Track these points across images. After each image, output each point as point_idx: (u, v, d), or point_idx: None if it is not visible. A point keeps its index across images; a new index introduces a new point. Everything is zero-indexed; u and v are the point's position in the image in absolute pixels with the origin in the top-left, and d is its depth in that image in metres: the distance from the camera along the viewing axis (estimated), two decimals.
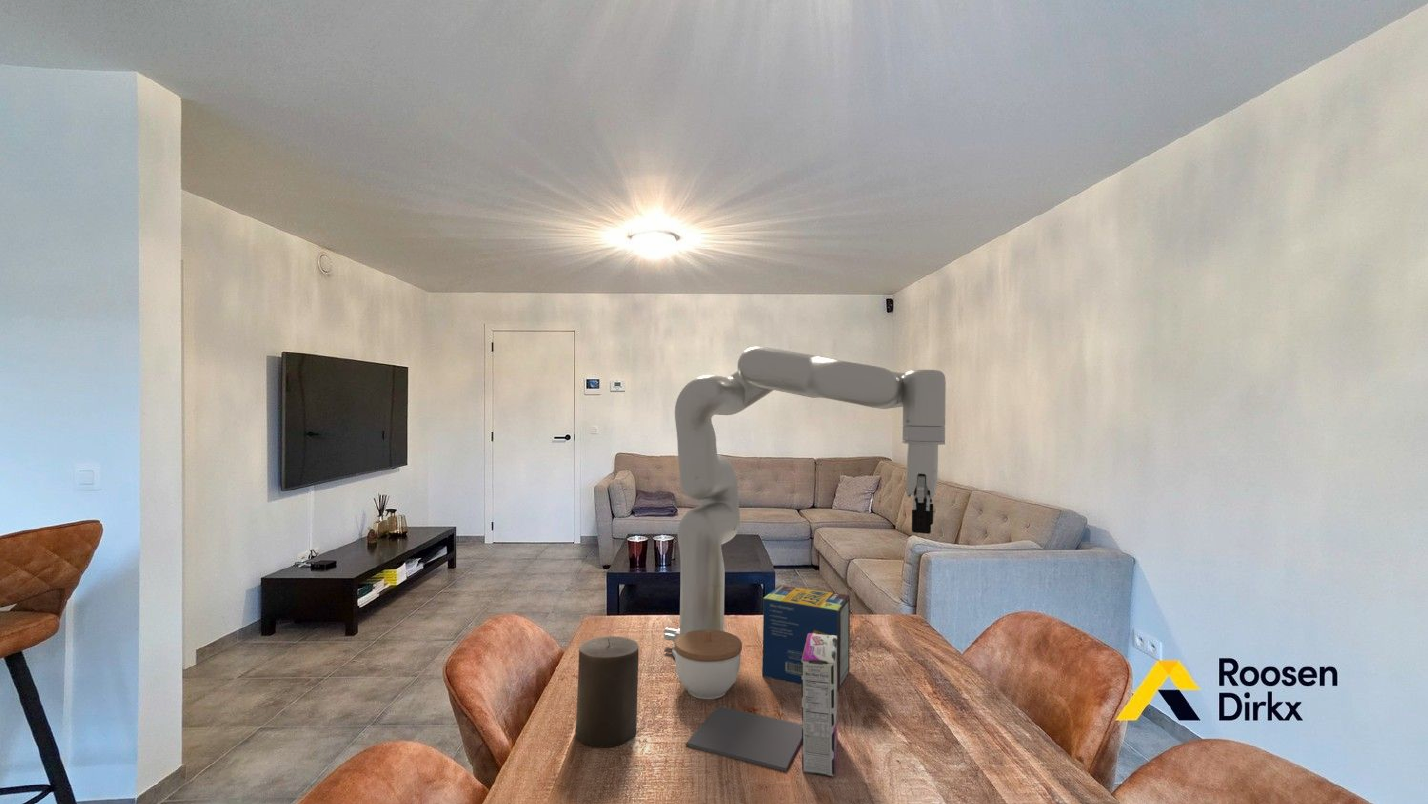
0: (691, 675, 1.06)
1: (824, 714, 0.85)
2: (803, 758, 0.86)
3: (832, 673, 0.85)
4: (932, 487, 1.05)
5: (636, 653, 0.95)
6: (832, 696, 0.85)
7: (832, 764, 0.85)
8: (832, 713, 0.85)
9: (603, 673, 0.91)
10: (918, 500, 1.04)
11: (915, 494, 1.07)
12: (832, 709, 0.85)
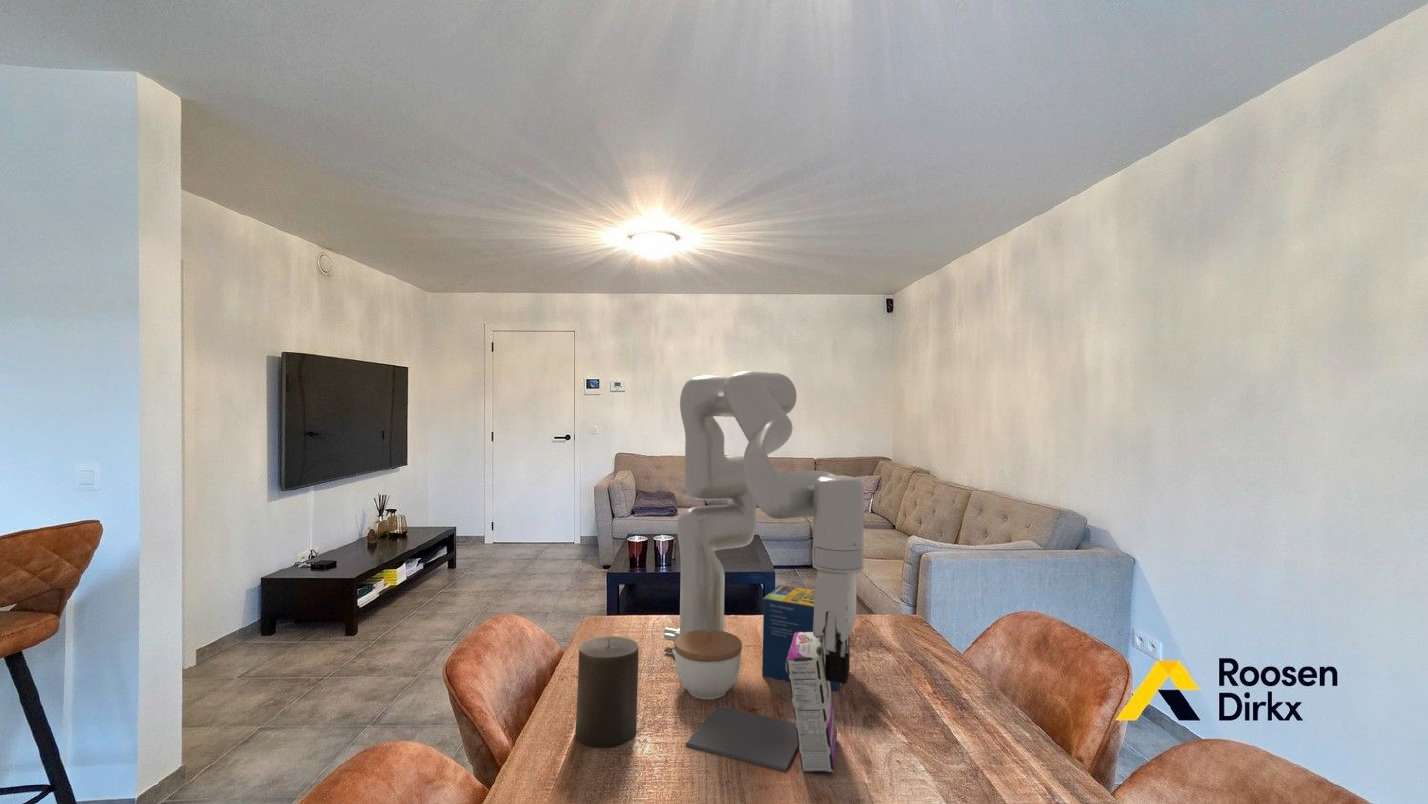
0: (691, 675, 1.06)
1: (815, 711, 0.85)
2: (801, 758, 0.86)
3: (818, 668, 0.85)
4: (843, 628, 0.85)
5: (636, 653, 0.95)
6: (821, 691, 0.85)
7: (830, 760, 0.85)
8: (823, 708, 0.85)
9: (603, 673, 0.91)
10: None
11: None
12: (823, 704, 0.85)
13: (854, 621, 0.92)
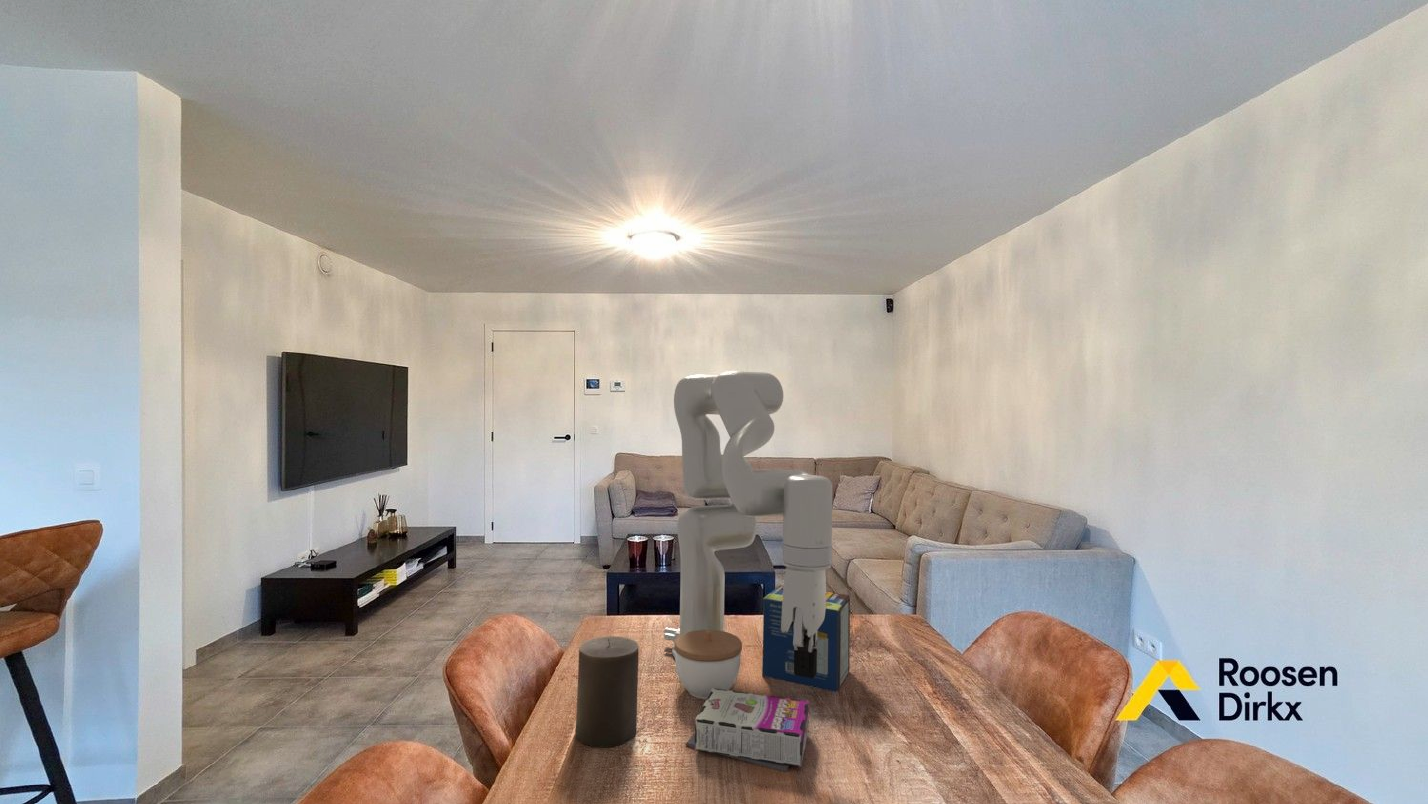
0: (691, 675, 1.06)
1: (743, 736, 0.88)
2: (787, 763, 0.86)
3: (704, 721, 0.90)
4: (810, 624, 0.87)
5: (636, 653, 0.95)
6: (725, 724, 0.89)
7: (789, 735, 0.86)
8: (741, 727, 0.88)
9: (603, 673, 0.91)
10: None
11: None
12: (737, 726, 0.88)
13: (823, 617, 0.94)
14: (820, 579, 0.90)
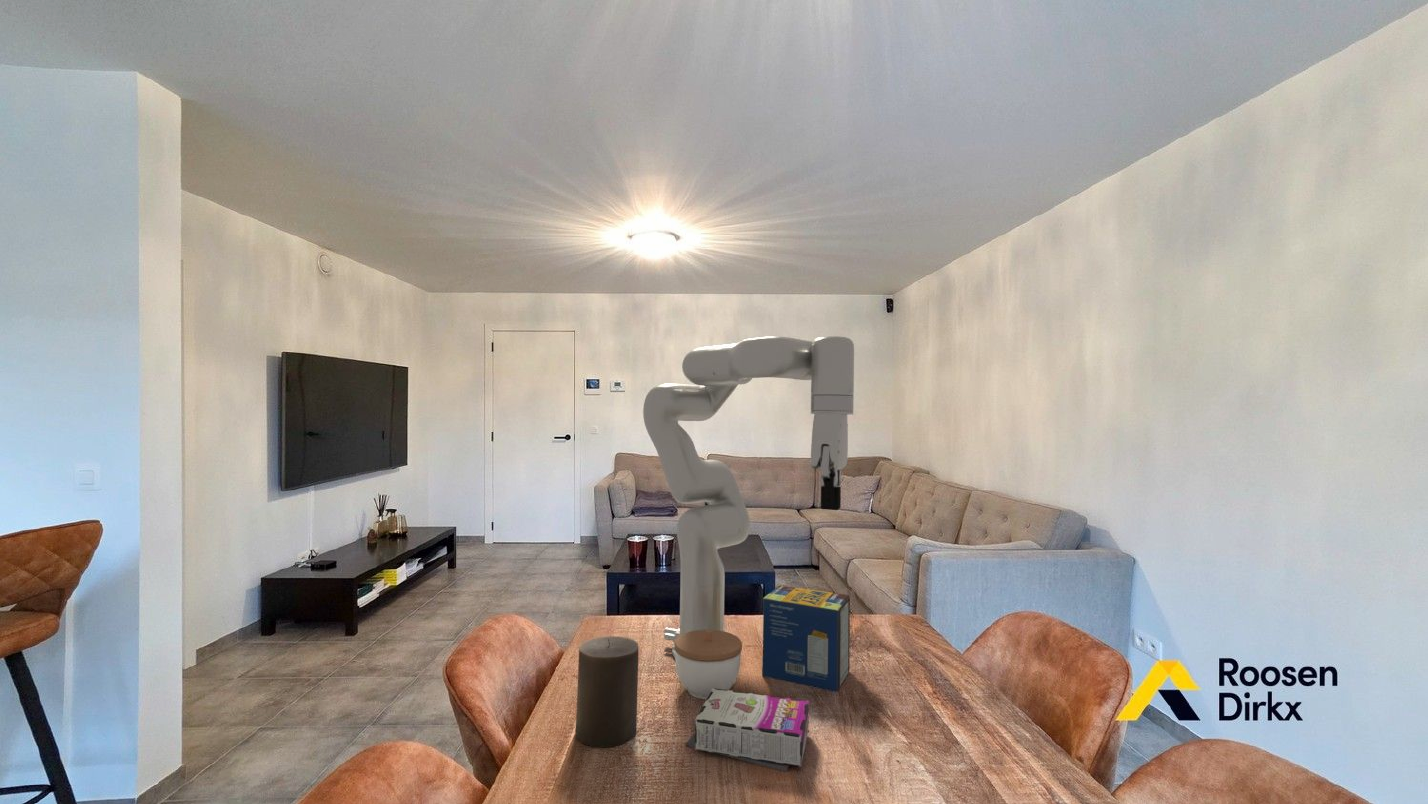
0: (691, 675, 1.06)
1: (743, 736, 0.88)
2: (787, 763, 0.86)
3: (704, 721, 0.90)
4: (836, 457, 1.01)
5: (636, 653, 0.95)
6: (725, 725, 0.89)
7: (789, 735, 0.86)
8: (741, 727, 0.88)
9: (603, 673, 0.91)
10: (825, 479, 1.03)
11: None
12: (737, 726, 0.88)
13: (846, 462, 1.08)
14: (844, 423, 1.04)
